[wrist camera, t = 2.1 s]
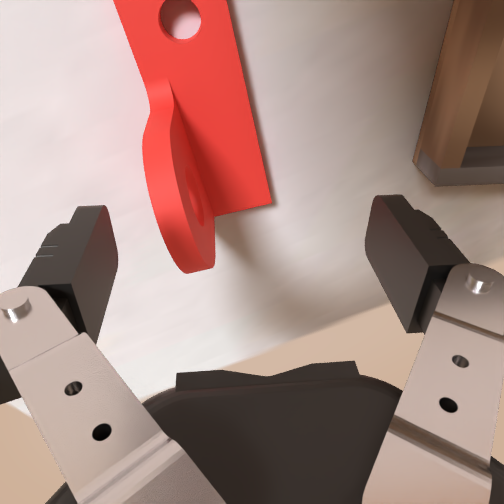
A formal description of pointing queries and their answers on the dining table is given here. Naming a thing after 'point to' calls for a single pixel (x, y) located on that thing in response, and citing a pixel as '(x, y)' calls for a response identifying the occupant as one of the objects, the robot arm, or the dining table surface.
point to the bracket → (194, 128)
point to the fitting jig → (466, 100)
